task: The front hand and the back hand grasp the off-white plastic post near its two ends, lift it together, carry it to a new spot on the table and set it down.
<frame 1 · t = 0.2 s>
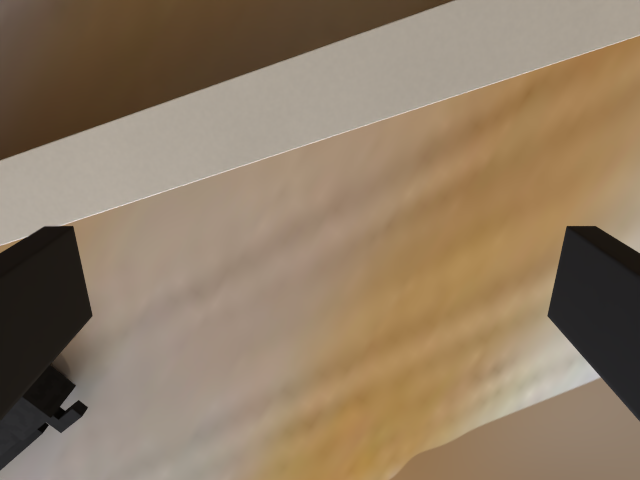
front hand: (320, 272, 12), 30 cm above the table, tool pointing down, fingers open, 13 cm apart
post: (324, 88, 39), on the table
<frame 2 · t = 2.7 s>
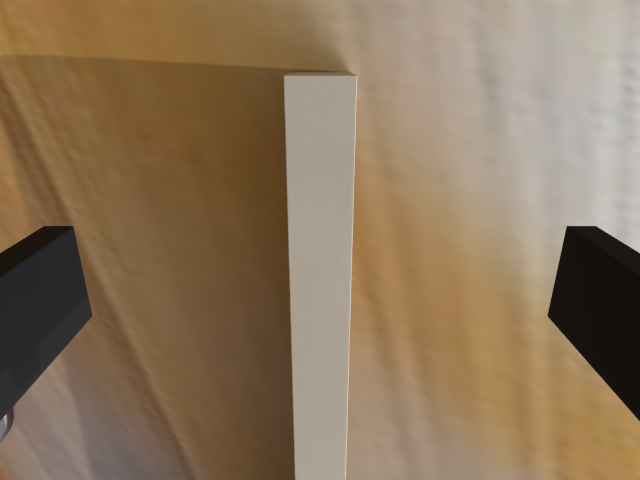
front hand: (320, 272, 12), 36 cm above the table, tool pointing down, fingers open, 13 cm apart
post: (320, 408, 59), on the table, touching back hand
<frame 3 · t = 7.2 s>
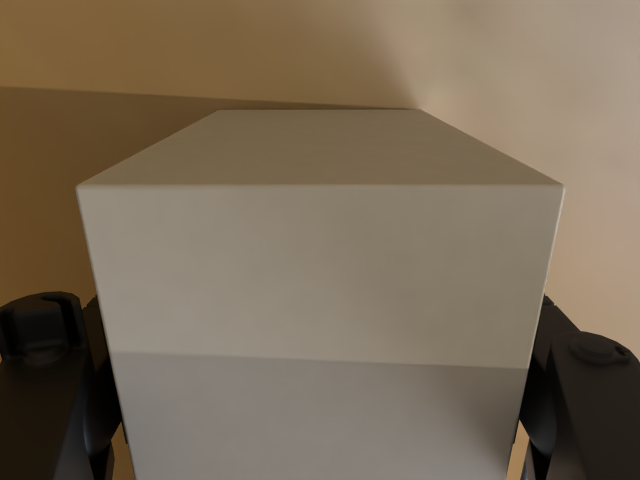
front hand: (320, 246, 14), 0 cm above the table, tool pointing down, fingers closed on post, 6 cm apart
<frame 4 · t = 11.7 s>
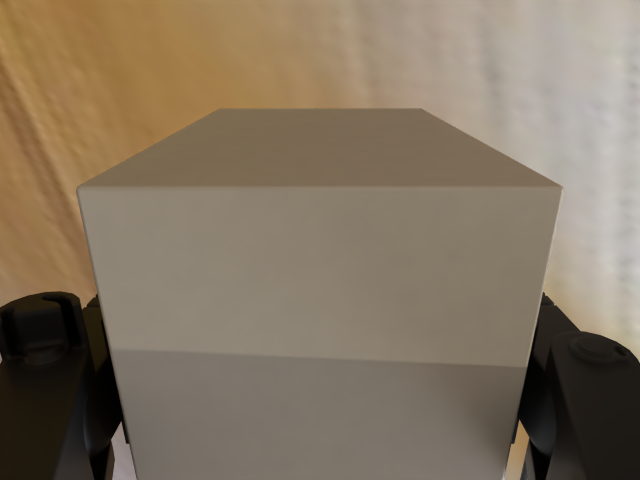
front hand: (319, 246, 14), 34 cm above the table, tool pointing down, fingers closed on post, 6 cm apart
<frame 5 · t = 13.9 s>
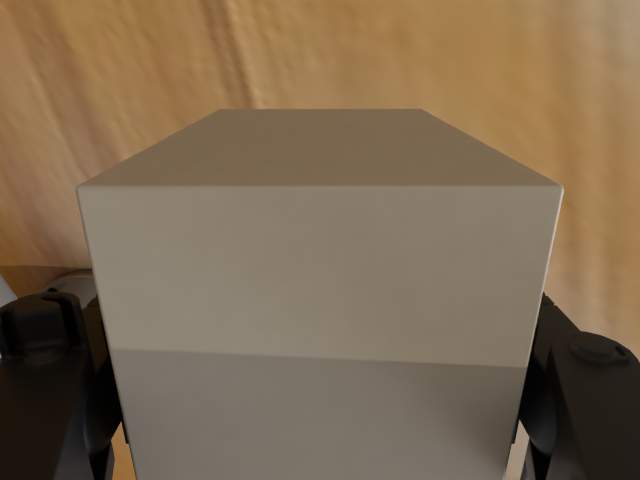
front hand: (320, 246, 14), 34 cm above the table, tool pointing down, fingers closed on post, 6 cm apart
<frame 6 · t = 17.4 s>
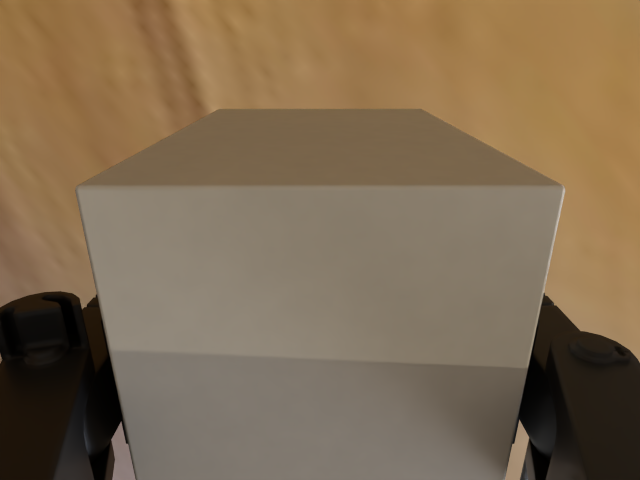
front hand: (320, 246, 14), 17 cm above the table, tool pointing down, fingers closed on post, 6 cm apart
when the front hand's fingers open (2 cm above the table, at t = 20.6 s): post drops 2 cm, on the table.
when the back hand's fingers open (2 cm above the table, at t = 20.6 s): post drops 2 cm, on the table.
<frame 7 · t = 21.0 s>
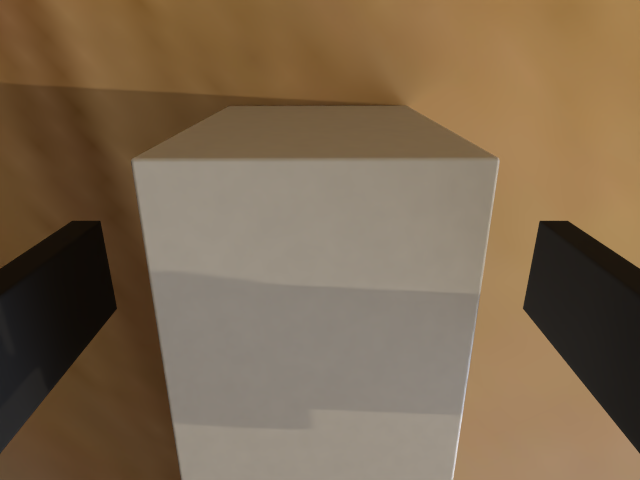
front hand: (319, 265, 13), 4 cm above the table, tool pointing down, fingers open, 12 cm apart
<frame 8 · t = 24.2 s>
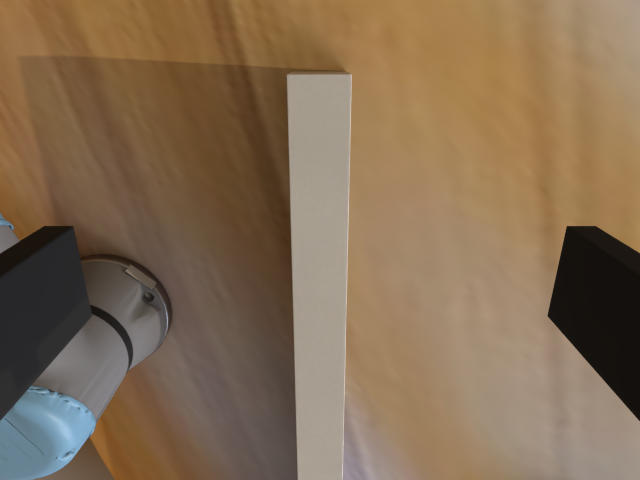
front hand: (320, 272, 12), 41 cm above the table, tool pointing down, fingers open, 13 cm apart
post: (319, 383, 64), on the table
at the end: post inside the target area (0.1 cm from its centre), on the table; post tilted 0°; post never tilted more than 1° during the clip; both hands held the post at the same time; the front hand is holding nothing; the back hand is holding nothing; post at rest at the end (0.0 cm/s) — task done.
